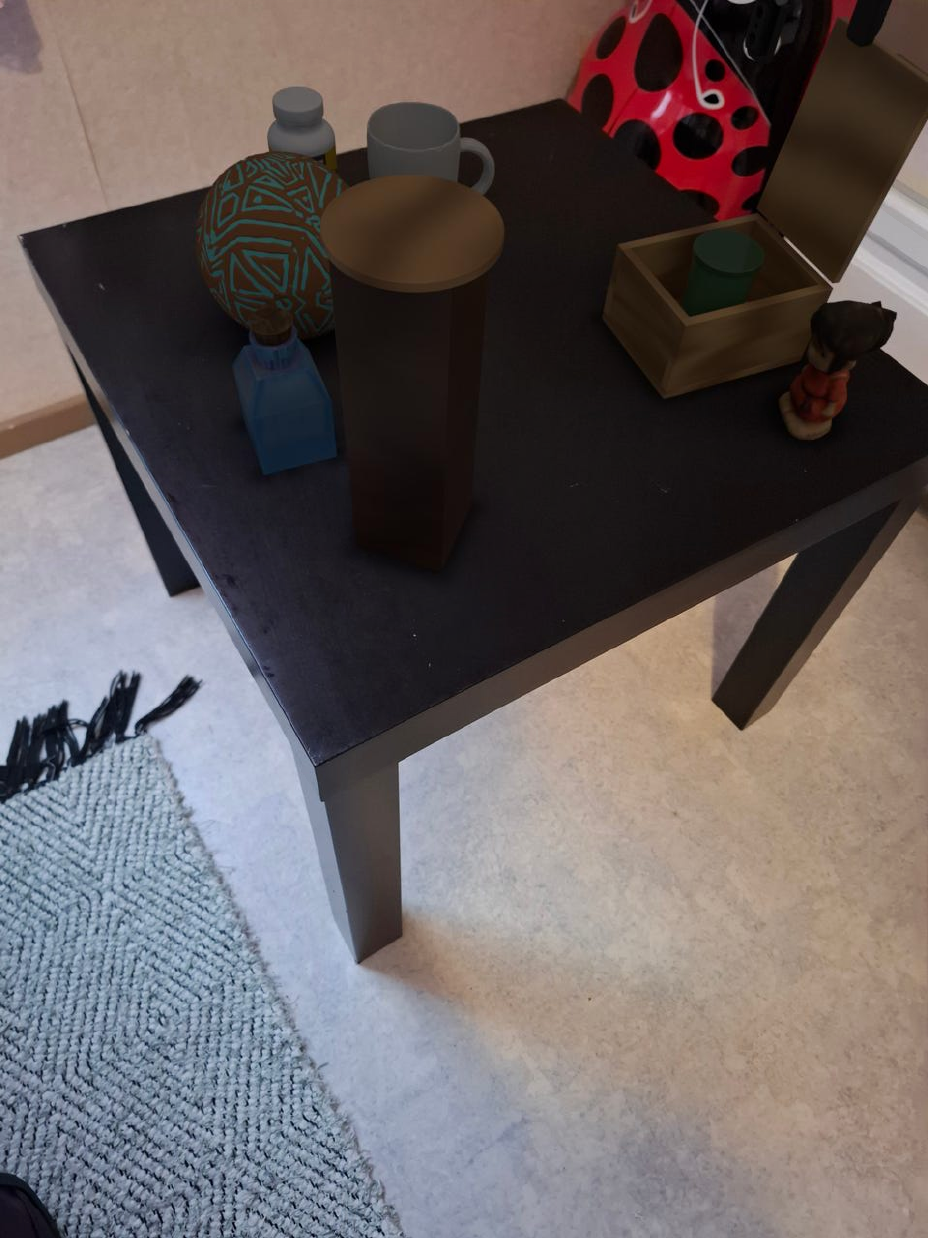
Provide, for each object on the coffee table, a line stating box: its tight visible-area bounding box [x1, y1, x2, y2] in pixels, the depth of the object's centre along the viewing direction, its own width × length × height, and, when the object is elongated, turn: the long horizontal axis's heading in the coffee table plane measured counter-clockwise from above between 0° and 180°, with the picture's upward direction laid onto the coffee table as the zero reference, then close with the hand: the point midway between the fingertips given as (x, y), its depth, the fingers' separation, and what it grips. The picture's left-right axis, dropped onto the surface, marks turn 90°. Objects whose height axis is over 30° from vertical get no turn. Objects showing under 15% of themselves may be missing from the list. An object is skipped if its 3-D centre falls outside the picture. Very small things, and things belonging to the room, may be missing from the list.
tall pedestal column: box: [320, 175, 505, 574], centre depth 58 cm, size 10×10×26 cm
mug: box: [366, 101, 495, 197], centre depth 87 cm, size 13×9×10 cm
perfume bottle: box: [231, 307, 338, 476], centre depth 68 cm, size 6×6×12 cm
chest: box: [601, 212, 834, 400], centre depth 80 cm, size 15×12×8 cm
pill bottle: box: [266, 86, 339, 175], centre depth 86 cm, size 6×6×12 cm
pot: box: [679, 230, 765, 317], centre depth 79 cm, size 6×6×8 cm
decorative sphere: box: [195, 151, 351, 341], centre depth 75 cm, size 15×15×15 cm
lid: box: [756, 16, 928, 285], centre depth 72 cm, size 16×12×5 cm
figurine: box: [778, 299, 898, 441], centre depth 73 cm, size 6×6×12 cm
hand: (808, 50), depth 62 cm, fingers open, 8 cm apart
